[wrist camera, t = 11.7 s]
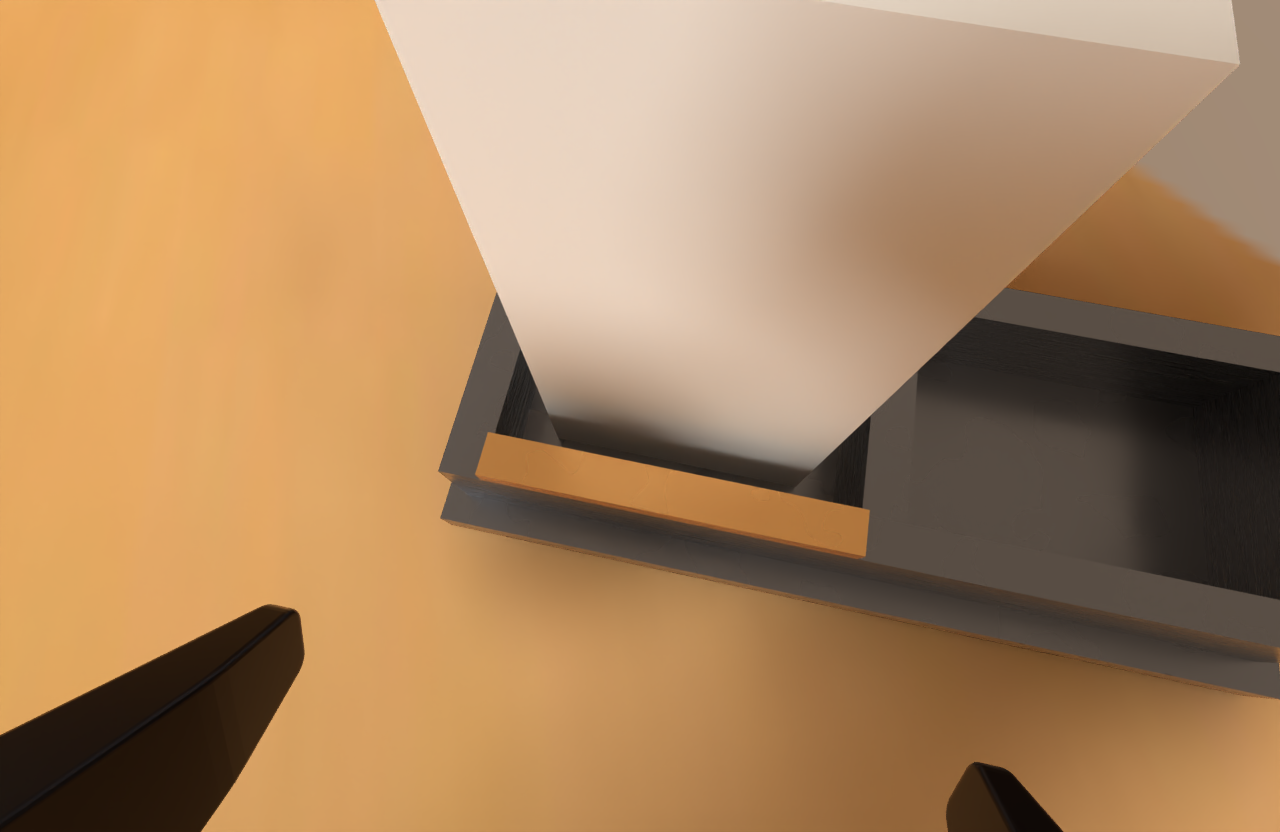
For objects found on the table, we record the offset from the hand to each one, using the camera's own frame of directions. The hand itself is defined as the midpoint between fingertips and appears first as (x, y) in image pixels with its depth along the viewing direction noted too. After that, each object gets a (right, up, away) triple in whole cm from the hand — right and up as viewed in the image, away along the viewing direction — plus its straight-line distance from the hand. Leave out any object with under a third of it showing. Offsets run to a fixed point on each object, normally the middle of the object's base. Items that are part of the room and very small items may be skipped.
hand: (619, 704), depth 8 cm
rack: (+6, +3, +10) cm, 12 cm away
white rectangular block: (+2, +4, +9) cm, 10 cm away
